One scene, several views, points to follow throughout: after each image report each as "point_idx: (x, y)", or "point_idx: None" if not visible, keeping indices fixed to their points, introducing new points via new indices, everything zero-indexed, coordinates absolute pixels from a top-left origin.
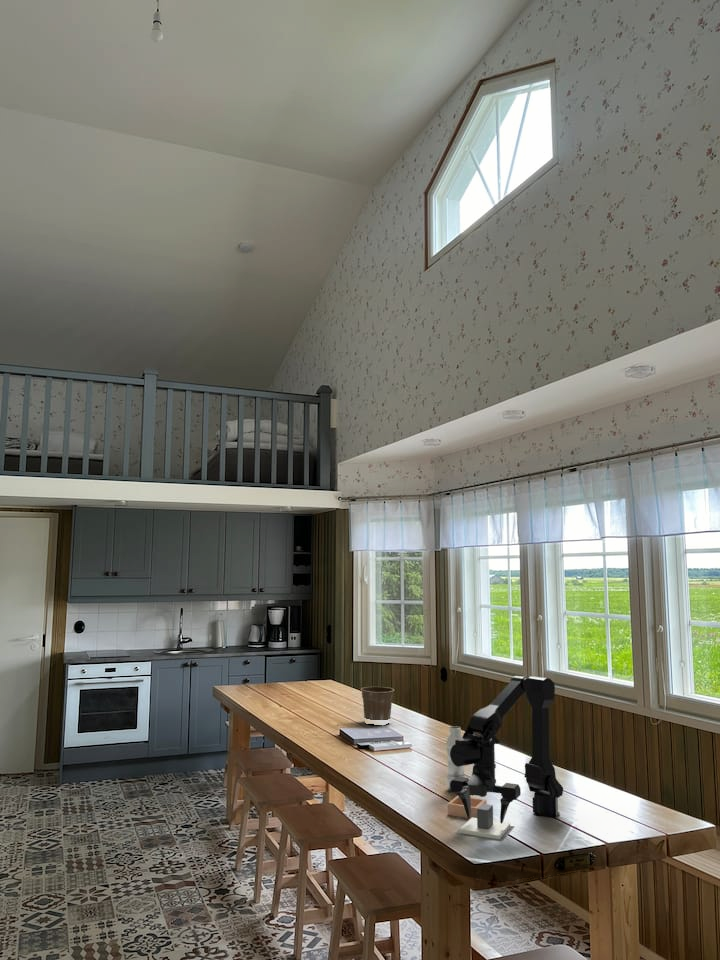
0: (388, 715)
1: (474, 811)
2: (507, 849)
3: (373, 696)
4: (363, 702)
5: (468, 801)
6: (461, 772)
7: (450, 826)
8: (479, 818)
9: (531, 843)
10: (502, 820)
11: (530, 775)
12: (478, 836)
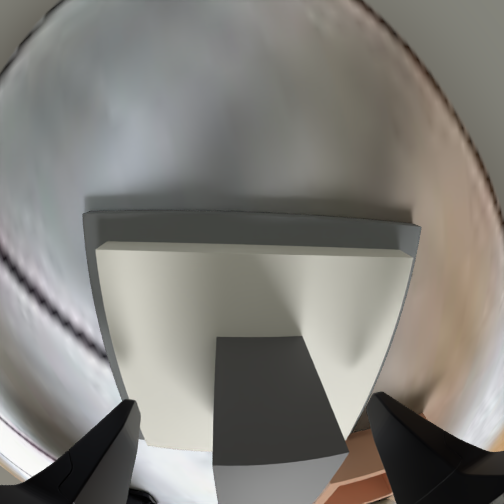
0: None
1: (339, 468)
2: (48, 134)
3: None
4: None
5: (418, 479)
6: None
7: (429, 343)
8: (300, 387)
9: (3, 289)
10: (112, 410)
11: None
12: (268, 234)
